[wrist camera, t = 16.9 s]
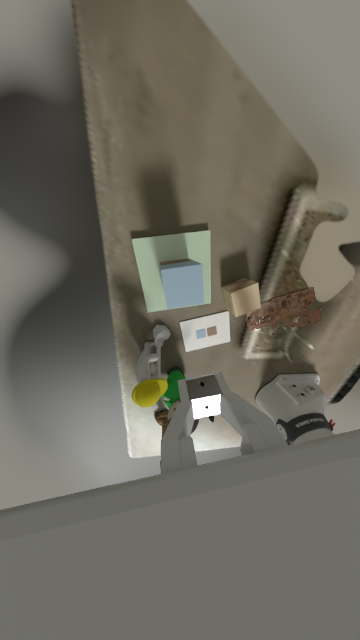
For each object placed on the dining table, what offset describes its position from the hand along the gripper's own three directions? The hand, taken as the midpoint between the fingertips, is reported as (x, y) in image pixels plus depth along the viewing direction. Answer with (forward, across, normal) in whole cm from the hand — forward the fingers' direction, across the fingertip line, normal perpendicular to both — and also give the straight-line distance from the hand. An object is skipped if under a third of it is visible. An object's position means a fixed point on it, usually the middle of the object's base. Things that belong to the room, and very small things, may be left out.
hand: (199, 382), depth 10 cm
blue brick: (+18, -1, -3) cm, 19 cm away
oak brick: (+24, -14, +3) cm, 28 cm away
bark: (+25, -27, +11) cm, 38 cm away
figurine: (+24, +6, +13) cm, 28 cm away
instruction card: (+24, -7, +12) cm, 28 cm away
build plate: (+24, -1, -3) cm, 24 cm away
